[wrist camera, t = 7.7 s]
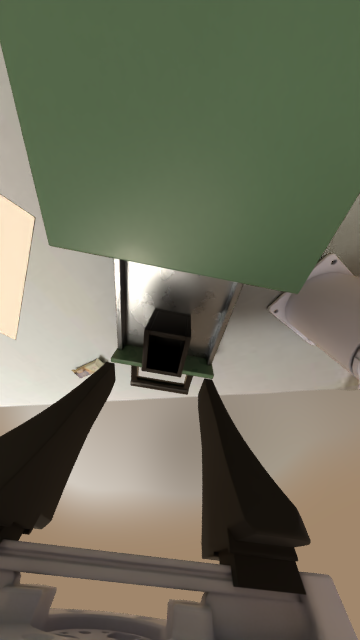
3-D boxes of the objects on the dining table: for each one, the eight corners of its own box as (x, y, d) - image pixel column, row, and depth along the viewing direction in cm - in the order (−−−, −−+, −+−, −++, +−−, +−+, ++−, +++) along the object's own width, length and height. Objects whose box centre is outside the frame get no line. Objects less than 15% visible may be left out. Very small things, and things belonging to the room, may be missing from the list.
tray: (201, 378, 24) (203, 401, 21) (124, 365, 24) (112, 386, 20) (242, 267, 16) (257, 275, 12) (121, 243, 15) (101, 243, 12)
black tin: (182, 348, 20) (180, 377, 16) (151, 343, 20) (141, 370, 16) (190, 314, 17) (191, 337, 13) (155, 307, 17) (144, 329, 13)
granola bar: (100, 355, 24) (96, 360, 23) (109, 364, 25) (106, 369, 24) (73, 368, 26) (68, 372, 25) (82, 376, 27) (79, 380, 26)
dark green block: (251, 271, 16) (306, 298, 9) (111, 243, 16) (37, 246, 8) (338, 57, 10) (937, -676, 2) (98, -6, 9) (-426, -1432, 1)
